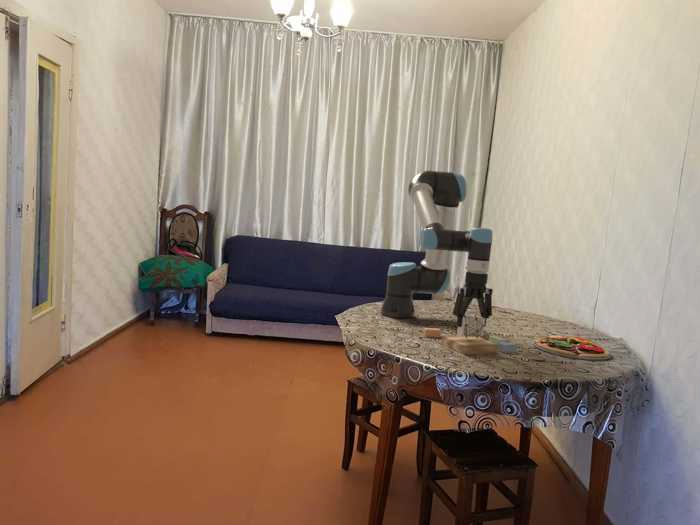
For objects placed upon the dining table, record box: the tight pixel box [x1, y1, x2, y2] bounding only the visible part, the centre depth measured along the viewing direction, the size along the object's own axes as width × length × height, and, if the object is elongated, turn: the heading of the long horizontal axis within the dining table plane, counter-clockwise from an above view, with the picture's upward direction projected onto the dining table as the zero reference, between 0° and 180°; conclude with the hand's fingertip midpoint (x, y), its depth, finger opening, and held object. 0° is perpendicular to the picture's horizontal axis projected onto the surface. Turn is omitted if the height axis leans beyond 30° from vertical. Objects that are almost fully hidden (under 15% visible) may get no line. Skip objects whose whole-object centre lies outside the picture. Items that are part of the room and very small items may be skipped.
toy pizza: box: [532, 335, 613, 361], centre depth 215 cm, size 28×28×4 cm
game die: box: [456, 314, 486, 338], centre depth 203 cm, size 9×8×10 cm
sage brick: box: [488, 335, 507, 345], centre depth 213 cm, size 6×3×3 cm, turn 27°
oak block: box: [440, 334, 498, 355], centre depth 203 cm, size 14×14×3 cm
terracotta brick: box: [422, 327, 442, 338], centre depth 218 cm, size 6×3×3 cm, turn 101°
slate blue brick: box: [497, 341, 518, 353], centre depth 204 cm, size 6×3×3 cm, turn 116°
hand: (470, 335), depth 203 cm, fingers closed on game die, 8 cm apart
